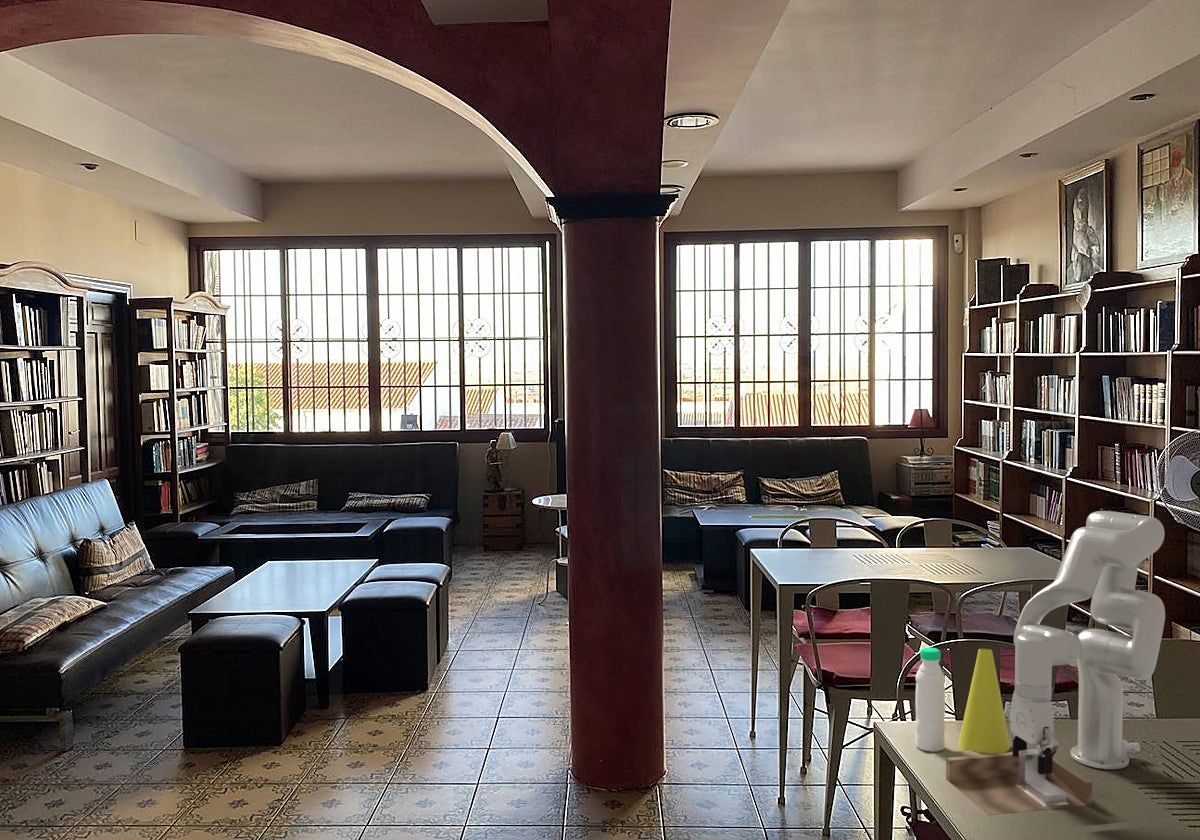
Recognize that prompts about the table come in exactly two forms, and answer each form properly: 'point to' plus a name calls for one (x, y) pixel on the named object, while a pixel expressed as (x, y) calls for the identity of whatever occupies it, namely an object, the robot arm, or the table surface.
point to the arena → (1011, 783)
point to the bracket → (1037, 779)
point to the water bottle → (930, 702)
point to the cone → (984, 710)
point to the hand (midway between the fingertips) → (1032, 764)
